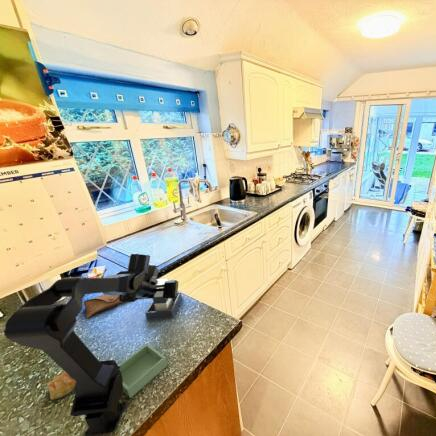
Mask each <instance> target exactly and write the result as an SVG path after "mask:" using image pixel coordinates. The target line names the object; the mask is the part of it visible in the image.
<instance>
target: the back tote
mask: <svg viewBox="0 0 436 436" xmlns="http://www.w3.org/2000/svg"><path fill="white" fill-rule="evenodd" d="M182 299H183V296H182V292H181V291H178V292H177V297H176V298H173V304H172V306H171V308H170V310H165V311H156V309H155V305H154V302H153V300H152V301H151V303H150V304H149V306H148V307H147V309H146V311H145V313H144V314H145V319H146V320H154V319H155V320H156V319H166V318H174V317H175V314H176V312H177V310H178V307H179V305H180V303H181V301H182Z"/></svg>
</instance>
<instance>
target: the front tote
mask: <svg viewBox="0 0 436 436" xmlns="http://www.w3.org/2000/svg"><path fill="white" fill-rule="evenodd" d="M117 365H118V366H120V369H119V370H120V371H121V374H122V379H123V393H124V394H125V395H126V396H127V397H128V398H129V399H132V398H133V397H134V396H135V395H136V394H137V393H138V392H139V391H141V389H142V388H144V387H145V386H146V385H147V384H148V383H149V382H151V381H152V380H153V379H154V378H155V377H156V376H157V375H159V373H161V371H163V370H164V369H165V368H166V367H167V366H168V361H167V357H165V356H164V355H163V354H162V353H160V352H159V351H157V349H155V348H154V347H153V346H151V345H150V344H148V343H146V344H144V346H142V347H141V348H140V349H138V350H137V351H136V352H134V353H133V354H131V355H130V356H129V357H127V359H125V360H124V361H122V362H121V363H120V364H117Z"/></svg>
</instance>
